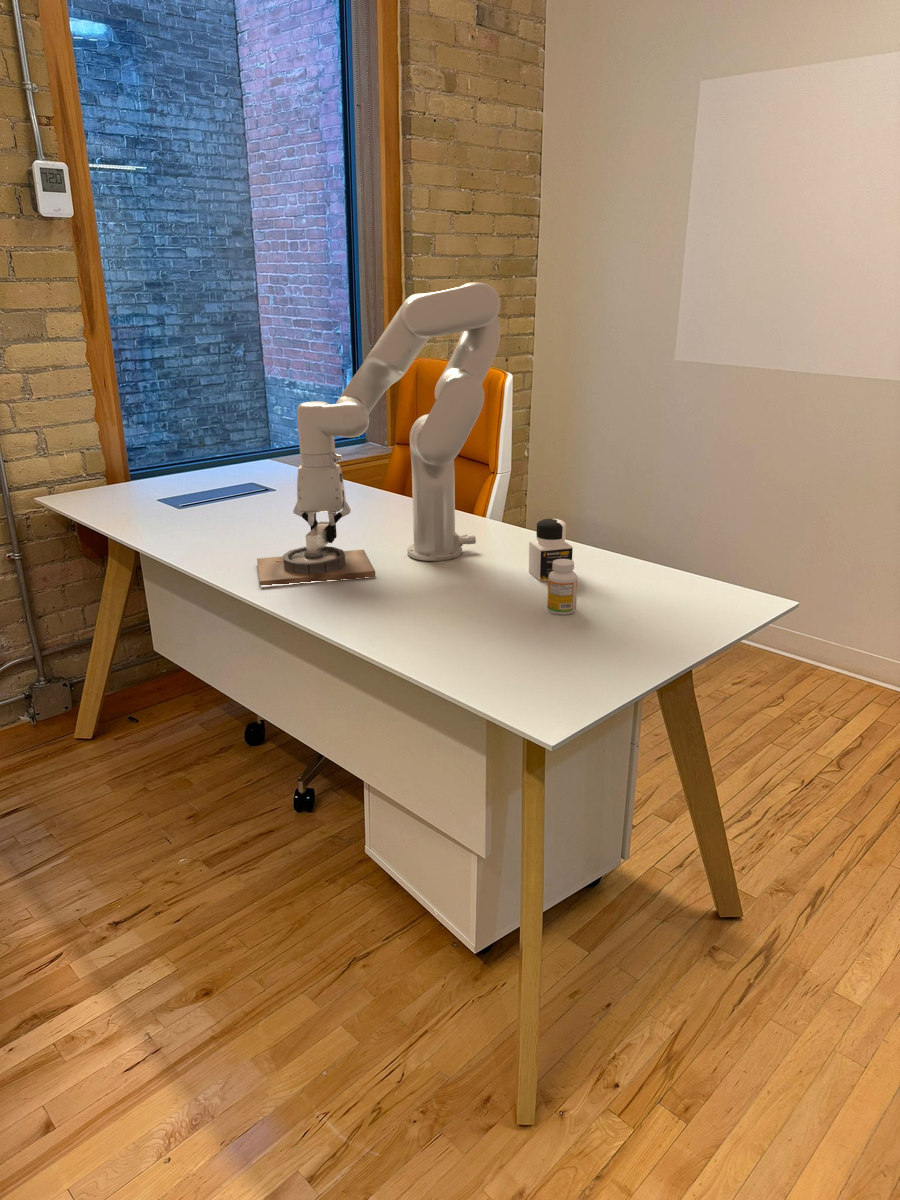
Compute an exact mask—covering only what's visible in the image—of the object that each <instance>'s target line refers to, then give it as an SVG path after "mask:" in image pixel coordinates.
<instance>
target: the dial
mask: <svg viewBox="0 0 900 1200" xmlns="http://www.w3.org/2000/svg"><path fill="white" fill-rule="evenodd" d="M318 523H319V524H318V525H317V526H316V527H315V528H313V529H312V530H311V529H310V531H309V532H308V533H307V534H306V535H305V545H306V546H305V547H307V551H302V552H299V553H296V554H294V555H292V556H291V560H293V561H295V562H303V563H315V562H324V561H328V560H332V559H335V558H336V557H337V554H336V553H335V552H332V551H328V550H322V549H323V548H324V547H325V546H327V545H329V544H330V543H329V542H328V528H327V527H328V525H329V521H319V522H318Z"/></svg>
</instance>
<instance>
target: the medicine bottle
mask: <svg viewBox="0 0 900 1200" xmlns="http://www.w3.org/2000/svg"><path fill="white" fill-rule="evenodd" d="M566 528H567V524H566V522H565V521H563V520H561V519H559V518H545V519H544V518H543V519H541V520H539V521H538V522H537V523H536V539H532V540H529V543H528V544H529V545H528V572H529V573H530V574H531V575H532V576H533V577H535V578H536V579H537V581H539V582H541V583H542V582H548V576H549V573H550V572H552V571H554V570H553V569H552V568H553V567H552V565H553V561H554V560H556V559H569V560H572V561H573V549H574V548H573V546H572V545H571V544H569V543H568V542H566V532H567V531H566V530H567V529H566Z"/></svg>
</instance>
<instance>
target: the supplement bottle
mask: <svg viewBox="0 0 900 1200" xmlns="http://www.w3.org/2000/svg"><path fill="white" fill-rule="evenodd" d="M552 567H553V568H552V569H553V570H554V571H552V572H550V573H549V576H548V581H547V610H548V612H549V613H551V614H553V615H559V616H567V615H571V614H573V613H575V612H576V610H577V591H578V575H577V573H576V572H575V571H574V570H575V562H574V560H573V559H572V560H569V559H556V560H554V561H553V565H552Z"/></svg>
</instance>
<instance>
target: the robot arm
mask: <svg viewBox="0 0 900 1200" xmlns="http://www.w3.org/2000/svg"><path fill="white" fill-rule="evenodd" d="M500 310H501V298H500V295H499V294H498V292H497V291H496V289H495V288H494V287H493V286H491V285H489V284H488V283H486V282H485V283H484V282H477V281H472V282H467V283H464V284H462V285H461V286H458V287H454V288H449V289H445V290H440V291H435V292H434V291H433V292H427V293H422V292H421V293H413V294H412V295H410V296H408V297H407V298H406V299H405V301H404V302H403V303H402V304H401V305H400V307H399V308H398V310H397V312H396V313H395V315H394V316H393V317H392V319H391V320H390V322H389V324H388V325H387V326H386V328H385V330H384V331H383V332H382V334H381V336H380V337H379V339H378V340H377V342H376V343H375V344H374V346H372V347H373V348H372V349H371V350H370V351H369V353H368V355H367V356H366V358H365V359H364V361H363V362H362V364H361V365H360V367H359V368H358V370H357V371H356V373H354V375H353V377H352V378H350V381H349V382H348V384H347V386H346V387H345V388H344V390H343V391H342V393H341V395H340V396H339V397H338V399H337V400H336V402H335V403H334V404H330V403H329V402H327V401H306V402H302V403H299V405H298V406H297V408H296V418H297V419H296V420H297V431H298V442H299V456H300V465H299V466H298V469H297V480H296V500H297V501H296V503H295V505H294V508H293V510H292V511H293V514H294V515H296V516H299V517H300V518H302V519H303V520H304V521H305V522H307V523H308V526H310V531H311V530H312V529H313V528H315V527H316V526H317V525H318V524H319V522H318V520H317V513H327V514H328V515H327V516H328V522H329V525H328V527H327V528H328V542H329V543H328V544H333V542H334V541H335V539H337V536H338V535H337V523H338V521H340V520H341V518H343V517H346V516H347V515H349V514H351V512H352V509H351V507H350V506H349V504H348V502H347V499H346V491H345V484H344V483H345V482H344V478H343V473H342V468H341V466H340V464H338V462H342V461H343V455H342V454H338V453H337V451H336V445H335V443H336V442H335V437H338V438H339V437H342V438H356V437H357V438H358V437H360V436H362V435H363V434H364V433H365V432H367V429H368V428H369V424H370V416H369V414H370V413H371V412H372V410H373V408H375V406H376V405H377V403H378V402H379V400H380V399H381V398H382V396H383V395H384V393H386V391H387V390H388V389H389V388H390V387H391V386H392V385H393V384H395V383H397V382H399V381H400V380H401V379H402V378H403V377H404V375H406V373H407V372H408V370H409V369H410V367H411V366H412V364H413V362H414V361H415V360H416V358H417V357H418V355H419V353H420V352H422V349H423V348H424V346H425V345H426V344H427V342H428V340H429V339H430V338H434V337H435V338H437V337H442V336H447V335H451V334H456V333H457V334H458V333H459V332H460V336H459V339H458V342H457V344H456V346H455V349H454V351H453V353H452V354H451V357H450V358H449V360H448V363H447V364H446V367H445V368H444V370H443V372H442V374H441V375H440V376H439V379H438V380H437V382H436V385H435V389H434V399H435V402H434V404H433V406H432V408H431V409H430V412H429V413H428V414H427V413H426V414H424V415H421V416H420V417H418V418H417V419H416V420H415V421H414V423H413V424H412V426H411V429H410V432H409V451H410V463H411V480H412V482H411V485H412V487H411V488H412V489H411V490H412V491H411V492H412V495H411V496H412V523H413V525H412V526H413V544H410V545H409V546H408V547H407V551H406V552H407V556H409V557H410V558H412V559H415V560H419V561H426V562H438V561H439V562H441V561H449V560H453V559H455V558H458V557H459V556H461V554H462V553H463V547H462V546H463V545H474V544H475V545H476V543H477V540H476V539H477V538H476V535H468V534H467V533H466V534H465V533H464V534H458V533H457V532H456V504H455V503H456V500H455V499H456V496H455V495H456V493H455V492H456V491H455V486H456V484H455V483H456V482H455V481H456V480H455V479H456V478H455V459H456V458H457V456H458V455H459V453H460V451H461V450H462V449H463V447H464V445H465V443H466V441H467V439H468V438H469V435H470V434H471V432H472V429H473V428H474V426H475V424H476V422H477V420H478V419H479V416H480V414H481V413H482V410H483V407H484V405H485V404H484V403H485V391H484V386H483V383H484V381H485V379H486V377H487V375H488V373H489V371H490V369H491V367H492V364H493V362H494V359H495V357H496V355H497V352H498V350H499V346H500V341H501V326H500V319H499V312H500Z"/></svg>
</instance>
